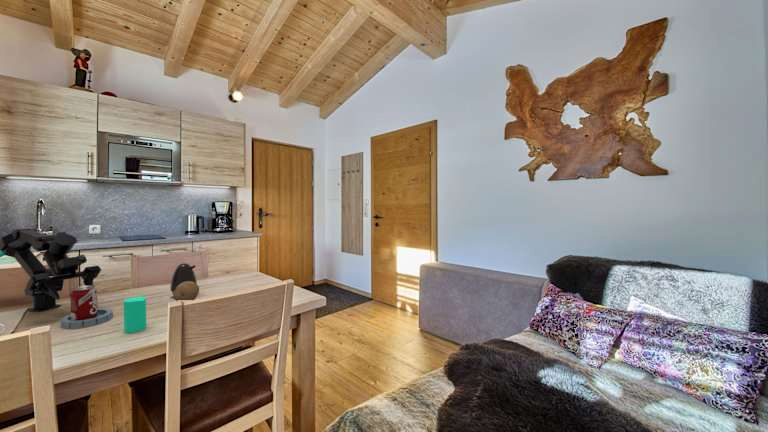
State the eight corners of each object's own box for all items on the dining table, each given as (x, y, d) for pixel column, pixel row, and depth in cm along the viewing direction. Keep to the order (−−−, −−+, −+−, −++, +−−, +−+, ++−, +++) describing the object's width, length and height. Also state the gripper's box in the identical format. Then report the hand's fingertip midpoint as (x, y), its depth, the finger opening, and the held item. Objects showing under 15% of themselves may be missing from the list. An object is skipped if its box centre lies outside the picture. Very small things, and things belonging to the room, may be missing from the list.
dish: (50, 326, 102) (50, 320, 102) (94, 312, 114) (94, 307, 114) (80, 330, 99) (80, 324, 99) (121, 316, 112) (121, 310, 112)
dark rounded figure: (187, 299, 131) (187, 266, 131) (164, 299, 132) (164, 265, 131) (202, 292, 142) (202, 261, 141) (180, 292, 142) (180, 260, 141)
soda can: (70, 325, 101) (69, 291, 101) (71, 319, 106) (70, 286, 105) (97, 320, 106) (97, 287, 105) (97, 314, 111) (97, 283, 110)
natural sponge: (181, 309, 120) (180, 285, 119) (168, 305, 124) (168, 282, 123) (203, 303, 128) (203, 280, 127) (191, 299, 132) (191, 277, 131)
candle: (127, 334, 98) (127, 298, 97) (120, 329, 101) (120, 295, 100) (149, 328, 103) (149, 294, 102) (142, 323, 106) (142, 291, 105)
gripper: (29, 252, 101) (47, 288, 98) (98, 245, 119) (115, 275, 115) (19, 272, 104) (36, 308, 101) (87, 262, 122) (103, 292, 119)
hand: (75, 294), depth 109 cm, fingers open, 9 cm apart
